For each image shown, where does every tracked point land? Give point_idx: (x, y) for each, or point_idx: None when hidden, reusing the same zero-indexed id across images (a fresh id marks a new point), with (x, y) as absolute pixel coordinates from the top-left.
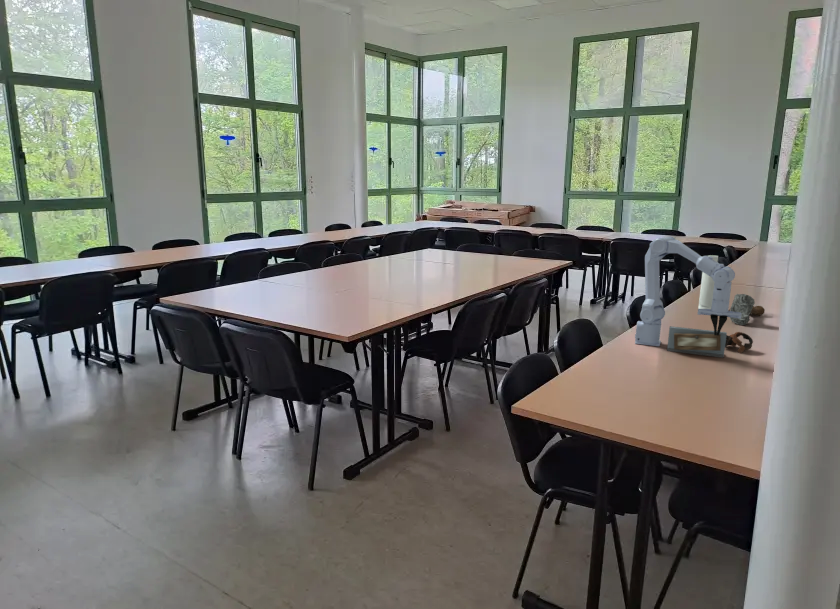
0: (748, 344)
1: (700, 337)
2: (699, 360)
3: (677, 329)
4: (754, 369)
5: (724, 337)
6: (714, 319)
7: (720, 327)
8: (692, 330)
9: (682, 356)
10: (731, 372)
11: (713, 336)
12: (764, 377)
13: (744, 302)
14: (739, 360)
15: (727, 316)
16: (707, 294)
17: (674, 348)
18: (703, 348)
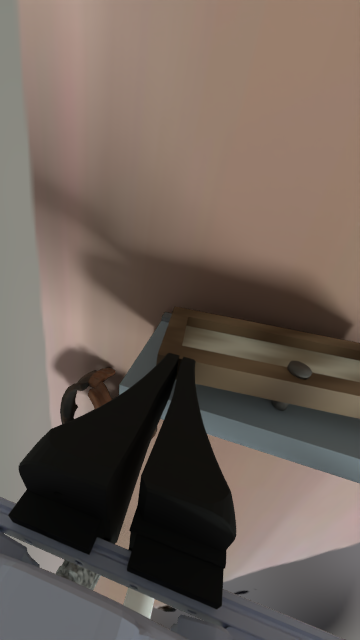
0: (74, 385)
1: (276, 367)
2: (280, 250)
3: None
4: (68, 174)
5: (138, 370)
6: (188, 483)
7: (142, 388)
8: (313, 441)
9: (345, 298)
10: (168, 46)
11: (200, 356)
12: (19, 17)
13: (72, 579)
14: (116, 291)
15: (16, 514)
16: (138, 611)
17: None
18: (248, 325)
